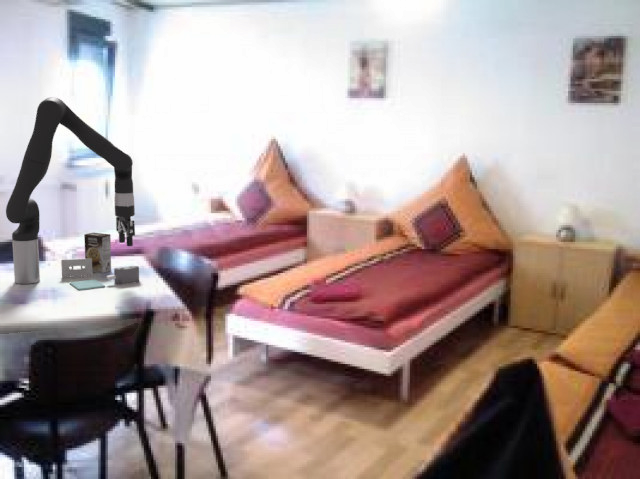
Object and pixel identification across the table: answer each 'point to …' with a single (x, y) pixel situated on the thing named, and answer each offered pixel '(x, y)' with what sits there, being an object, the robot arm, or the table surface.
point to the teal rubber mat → (87, 284)
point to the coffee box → (98, 251)
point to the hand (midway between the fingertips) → (125, 244)
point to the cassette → (76, 272)
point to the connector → (125, 275)
